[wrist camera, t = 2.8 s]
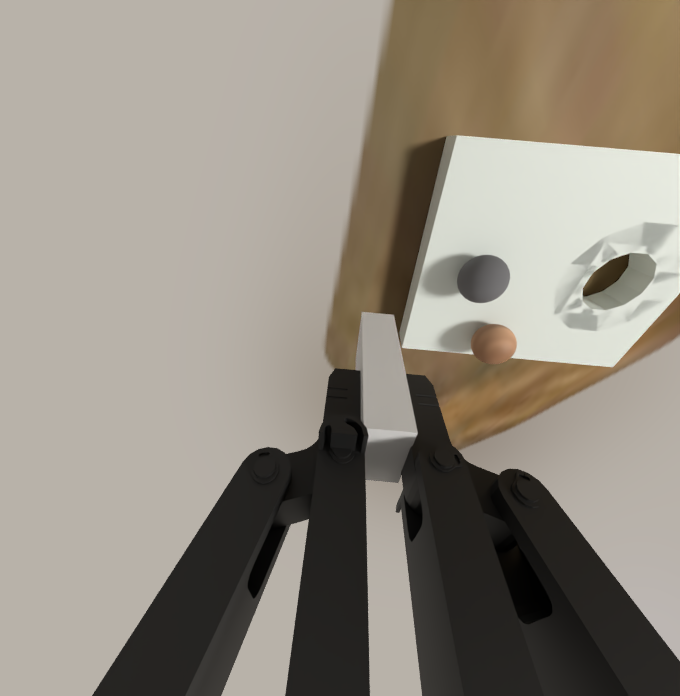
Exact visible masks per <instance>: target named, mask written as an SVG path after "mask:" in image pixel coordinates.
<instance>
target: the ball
mask: <svg viewBox="0 0 680 696" xmlns="http://www.w3.org/2000/svg"><path fill="white" fill-rule="evenodd" d="M509 281H510V271H509V268H508V266H507V264H506V263H505V262H504V261H503V260H502V259H500V258H499V257H496V256H493V255H480V256H476V257H474V258H472V259H470V260H469V261H467V262H466V263H465V264H464V265H463V267H462V268H461V269H460V271H459V274H458V277H457V286H458V290H459V292H460V293H461V295H462V296H463V297H464V298H466V299H467V300H469V301H471V302H474V303H487V302H490V301H493V300H495V299H497V298H498V297H500V296H501V295H502V294H503V293H504V292H505V290H506V289H507V287H508V285H509Z"/></svg>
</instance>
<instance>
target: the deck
mask: <svg viewBox="0 0 680 696" xmlns="http://www.w3.org/2000/svg"><path fill="white" fill-rule="evenodd" d="M629 253H630V256H629V264H628V267H627V269H626V270H625V271H624V273H623V274H622V276H621V277H620V278H619V280H618V281H616V282H615V283H614V284H612V285H611V286H609V287H608V288H606V289H605V290H604V291H602V292H599V293H595V294H592V295H589V296H583V287H584V285H585V284H586V282H587V281H588V279H589V278H590V276H591V275H592V273H593V272H595V271H596V270H597V269H599V268H600V267H601V266H603V265H604V264H605V263H607V262H608V261H609V260H611V259H614V258H617V257H620V256H623V255H626V254H629ZM480 255H493V256H496V257H499V258H500V259H502V260H503V261H504V262H505V263H506V264H507V266H508V268H509V271H510V281H509V285H508V287H507V289H506V290H505V292H504V293H503V294H502V295H501V296H500V297H498V298H497V299H495V300H493V301H490V302H487V303H474V302H471V301H469V300H467V299H466V298H464V297H463V296H462V295H461V293H460V292H459V290H458V286H457V277H458V274H459V271H460V269H461V268H462V267H463V265H464V264H465V263H466V262H467V261H469V260H470V259H472V258H474V257H476V256H480ZM679 293H680V154H673V153H661V152H649V151H637V150H625V149H613V148H601V147H589V146H577V145H565V144H553V143H541V142H529V141H517V140H505V139H493V138H481V137H469V136H447V137H446V141H445V145H444V149H443V153H442V158H441V162H440V166H439V170H438V174H437V178H436V182H435V187H434V191H433V195H432V199H431V203H430V207H429V211H428V216H427V220H426V224H425V228H424V232H423V236H422V241H421V245H420V249H419V253H418V257H417V261H416V265H415V270H414V274H413V278H412V282H411V286H410V290H409V294H408V299H407V303H406V307H405V311H404V315H403V319H402V323H401V328H400V332H399V335H400V340H401V345H402V348H410V349H421V350H432V351H443V352H454V353H464V354H473V352H472V349H471V339H472V336H473V335H474V333H475V332H476V331H477V330H478V329H479V328H481V327H483V326H485V325H488V324H499V325H503V326H505V327H507V328H509V329H510V330H511V331H512V332H513V333H514V335H515V337H516V340H517V348H516V351H515V353H514V354H513V356H512V357H511V358H518V359H529V360H540V361H551V362H562V363H573V364H583V365H594V366H605V367H613V366H614V365H615V364H616V363H617V362H618V361H619V360H620V359H621V358H622V356H623V355H624V354H625V353H626V352H627V351H628V350H629V349H630V348H631V346H632V345H633V344H634V343H635V342H636V341H637V340H638V339H639V338H640V337H641V335H642V334H643V333H644V332H645V331H646V330H647V329H648V328H649V327H650V325H651V324H652V323H653V322H654V321H655V320H656V319H657V318H658V317H659V315H660V314H661V313H662V312H663V311H664V310H665V309H666V308H667V307H668V305H669V304H670V303H671V302H672V301H673V300H674V299H675V298H676V297H677V296H678V294H679Z"/></svg>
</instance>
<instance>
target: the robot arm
mask: <svg viewBox="0 0 680 696" xmlns="http://www.w3.org/2000/svg"><path fill="white" fill-rule="evenodd" d="M401 475H402V482H403V491H402V493H401V496H400V498H399V500H398V503H397V506H396V512H398V513H399V512H400V510H402V519H403V529H404V537H405V546H406V555H407V563H408V573H409V582H410V591H411V600H412V609H413V617H414V625H415V635H416V644H417V653H418V662H419V670H420V680H421V688H422V696H680V661H679V660H678V659H677V657H676V656H675V655H674V653H673V652H672V651H671V649H670V648H669V647H668V646H667V644H666V643H665V642H664V641H663V639H662V638H661V636H660V635H659V634H658V633H657V631H656V630H655V629H654V627H653V626H652V625H651V624H650V622H649V621H648V620H647V619H646V617H645V616H644V615H643V613H642V612H641V611H640V609H639V608H638V607H637V605H636V604H635V603H634V601H633V600H632V599H631V598H630V596H629V595H628V594H627V592H626V591H625V590H624V589H623V587H622V586H621V585H620V583H619V582H618V581H617V579H616V578H615V577H614V576H613V574H612V573H611V572H610V570H609V569H608V568H607V567H606V566H605V564H604V563H603V561H602V560H601V559H600V557H599V556H598V555H597V553H595V551H594V549H593V548H592V547H591V546H590V544H589V543H588V542H587V541H586V539H585V538H584V537H583V535H582V534H581V533H580V531H579V530H578V529H577V527H576V526H575V525H574V524H573V522H572V521H571V520H570V518H569V517H568V516H567V514H566V513H565V512H564V511H563V509H562V508H561V507H560V506H559V504H558V503H557V501H556V500H555V499H554V498H553V497H552V495H551V494H550V492H549V491H548V490H547V489H546V488H545V487H544V486H543V484H541V482H540V481H539V480H537V479H536V478H534V477H533V476H532V475H530V474H528V473H526V472H524V471H521V470H518V469H507V470H505V471H502V472H501V474H500V475H497V474H495V473H492V472H490V471H487V470H484V469H482V468H479V467H477V466H475V465H473V464H471V463H469V462H467V461H466V460H465V459H464V458H463V456H462V454H461V453H460V452H459V451H458V450H457V449H456V448H455V447H453V446H452V444H451V442H450V439H449V436H448V433H447V429H446V426H445V423H444V420H443V416H442V413H441V410H440V407H439V403H438V400H437V398H436V394H435V390H434V387H433V385H432V384H431V382H430V381H429V380H428V379H427V378H426V376H423V375H412V374H406V372H405V368H404V363H403V358H402V353H401V348H400V343H399V338H398V333H397V328H396V323H395V318H394V315H391V314H379V313H368V312H362V316H361V323H360V331H359V338H358V346H357V354H356V370H347V369H336V368H335V370H334V371H333V372H332V374H331V375H330V376H329V381H328V389H327V397H326V404H325V411H324V419H323V423H322V425H321V427H320V430H319V439H318V440H317V441H316V442H315V443H314V444H313V445H312V446H310V447H309V448H307V449H305V450H301V451H298V452H294V453H289V454H285V453H284V452H282V451H281V450H279V449H277V448H270V447H267V448H262V449H258V450H256V451H255V452H253V453H251V454H250V455H249V456H248V457H247V458H246V459H245V460H244V461H243V463H242V464H241V466H240V467H239V469H238V470H237V472H236V473H235V475H234V476H233V478H232V480H231V481H230V483H229V484H228V486H227V487H226V489H225V490H224V492H223V494H222V495H221V497H220V498H219V500H218V501H217V503H216V504H215V506H214V507H213V509H212V511H211V512H210V514H209V515H208V517H207V519H206V520H205V521H204V523H203V525H202V526H201V528H200V529H199V531H198V532H197V534H196V535H195V537H194V539H193V540H192V542H191V543H190V545H189V546H188V548H187V549H186V551H185V552H184V554H183V556H182V557H181V559H180V560H179V562H178V563H177V565H176V566H175V568H174V570H173V571H172V573H171V574H170V576H169V577H168V579H167V580H166V582H165V583H164V585H163V587H162V588H161V590H160V591H159V593H158V594H157V596H156V597H155V599H154V601H153V602H152V604H151V605H150V607H149V608H148V610H147V611H146V613H145V615H144V616H143V618H142V619H141V621H140V622H139V624H138V625H137V627H136V628H135V630H134V632H133V633H132V635H131V636H130V638H129V639H128V641H127V643H126V644H125V646H124V647H123V649H122V650H121V652H120V653H119V655H118V656H117V658H116V659H115V661H114V663H113V664H112V666H111V667H110V669H109V670H108V672H107V673H106V675H105V677H104V678H103V680H102V681H101V683H100V684H99V686H98V688H97V689H96V691H95V692H94V694H93V695H92V696H221V694H222V692H223V690H224V687H225V685H226V682H227V680H228V677H229V675H230V672H231V670H232V667H233V665H234V663H235V660H236V658H237V655H238V652H239V650H240V648H241V645H242V643H243V640H244V638H245V636H246V633H247V631H248V628H249V626H250V623H251V621H252V618H253V616H254V613H255V611H256V608H257V606H258V604H259V601H260V599H261V596H262V594H263V591H264V589H265V586H266V584H267V581H268V579H269V576H270V574H271V571H272V569H273V567H274V564H275V562H276V559H277V557H278V554H279V552H280V549H281V547H282V544H283V542H284V540H285V537H286V535H287V532H288V530H289V527H290V525H291V524H294V523H297V522H300V521H304V520H307V519H309V523H308V530H307V538H306V545H305V552H304V560H303V567H302V575H301V582H300V590H299V598H298V605H297V613H296V620H295V628H294V635H293V642H292V650H291V657H290V665H289V672H288V680H287V687H286V695H285V696H370V689H369V688H370V685H369V638H368V637H369V636H368V635H369V634H368V585H367V536H366V491H365V490H366V489H365V480H374V481H385V482H396V483H398V482H399V480H400V477H401Z"/></svg>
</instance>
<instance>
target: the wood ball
mask: <svg viewBox="0 0 680 696" xmlns="http://www.w3.org/2000/svg"><path fill="white" fill-rule="evenodd" d="M516 348H517V340H516V337H515V335H514V333H513V332H512V331H511V330H510V329H509V328H507V327H505V326H503V325H499V324H488V325H485V326H483V327H481V328H479V329H478V330H477V331H476V332H475V333H474V335H473V336H472V339H471V349H472V352H473V354H474V355H475V356H476V357H477V358H478V359H479V360H480V361H482V362H485V363H488V364H499V363H503V362H505V361H507V360H508V359H510V358H511V357H512V356H513V354H514V353H515V351H516Z"/></svg>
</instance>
